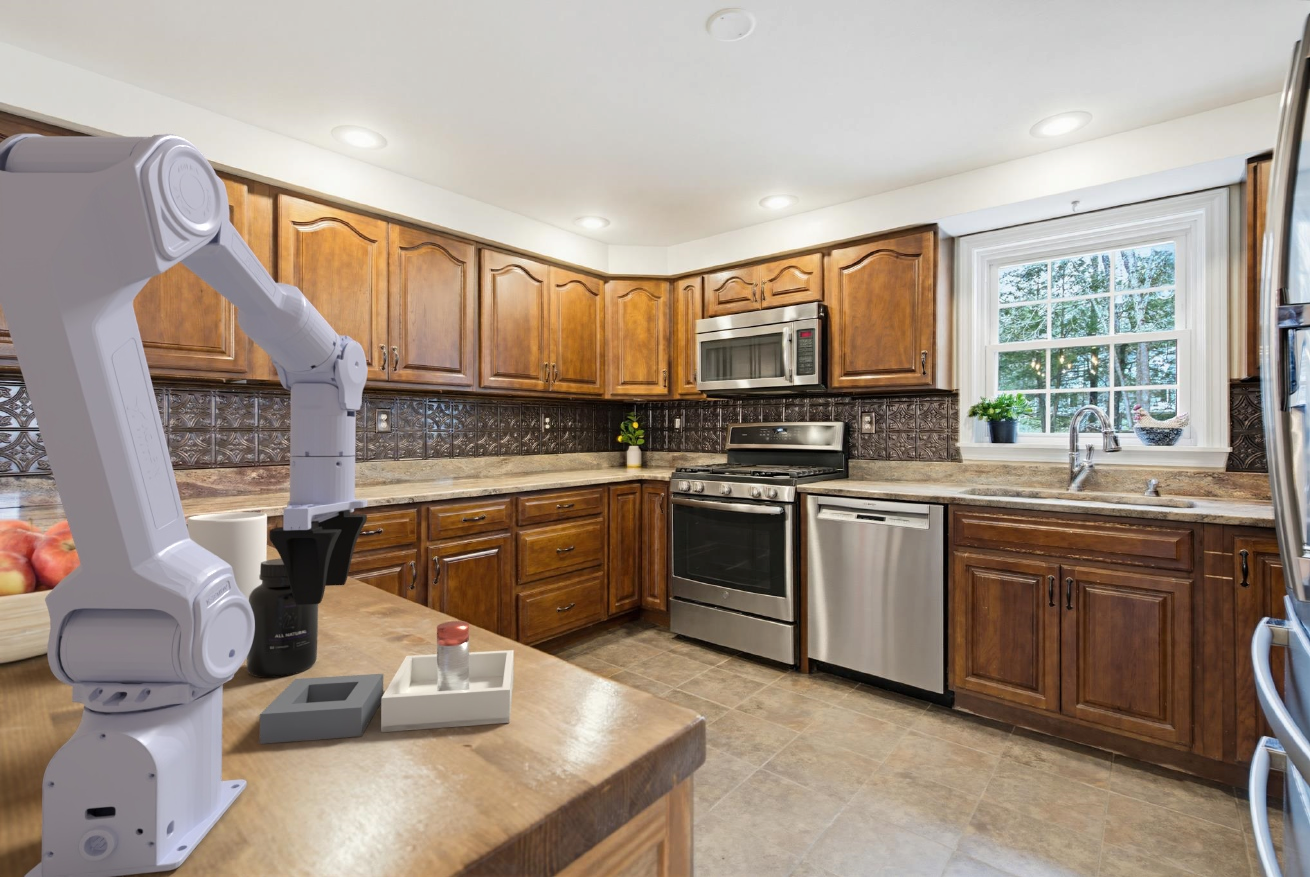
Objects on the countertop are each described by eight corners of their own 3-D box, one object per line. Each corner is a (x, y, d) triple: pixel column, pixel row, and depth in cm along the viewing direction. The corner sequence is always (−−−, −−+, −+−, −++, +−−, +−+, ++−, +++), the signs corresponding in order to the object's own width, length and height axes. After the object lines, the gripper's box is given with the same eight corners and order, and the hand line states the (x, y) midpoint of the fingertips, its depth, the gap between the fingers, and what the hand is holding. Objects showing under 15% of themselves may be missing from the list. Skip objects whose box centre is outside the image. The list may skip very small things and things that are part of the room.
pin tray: (509, 722, 57) (509, 689, 57) (381, 732, 55) (381, 697, 55) (513, 677, 68) (513, 649, 68) (406, 684, 66) (406, 655, 66)
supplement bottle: (285, 681, 67) (286, 568, 67) (231, 676, 68) (232, 565, 68) (331, 659, 73) (332, 556, 73) (281, 655, 75) (281, 554, 75)
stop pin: (468, 701, 61) (467, 629, 61) (435, 704, 60) (435, 631, 60) (470, 689, 64) (469, 620, 63) (439, 692, 63) (438, 622, 63)
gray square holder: (361, 736, 55) (361, 707, 55) (259, 743, 53) (260, 713, 53) (383, 698, 62) (383, 673, 62) (295, 704, 61) (295, 678, 61)
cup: (258, 650, 76) (259, 518, 76) (176, 658, 73) (177, 521, 73) (271, 631, 84) (272, 511, 84) (197, 637, 81) (199, 513, 81)
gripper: (345, 458, 56) (343, 611, 56) (383, 454, 70) (382, 576, 70) (257, 458, 55) (256, 614, 55) (315, 454, 69) (313, 578, 69)
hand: (322, 593), depth 62 cm, fingers open, 7 cm apart
